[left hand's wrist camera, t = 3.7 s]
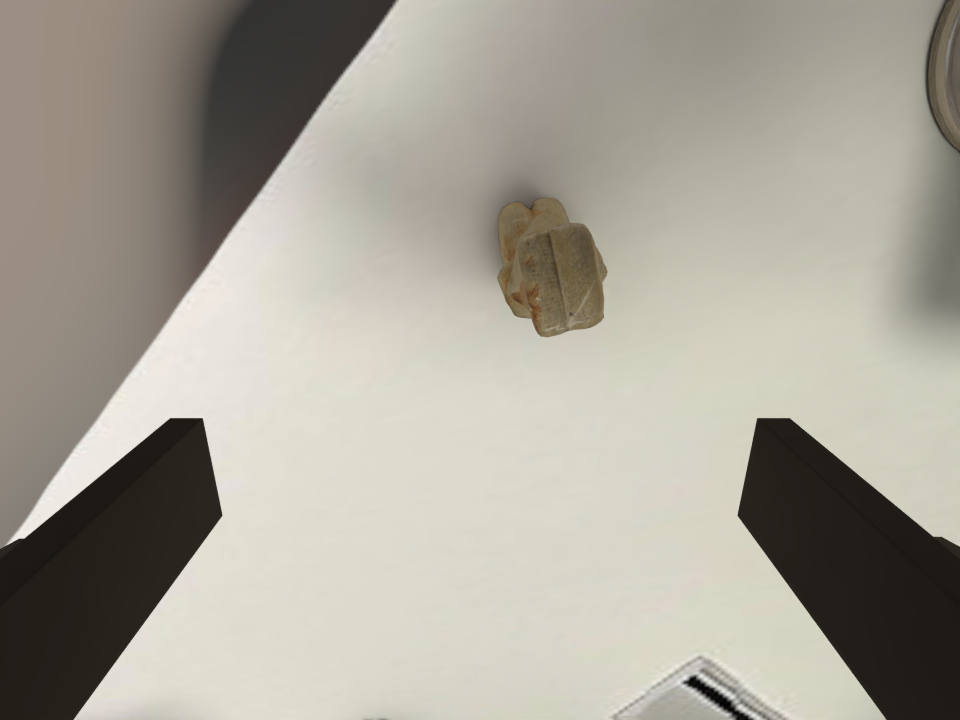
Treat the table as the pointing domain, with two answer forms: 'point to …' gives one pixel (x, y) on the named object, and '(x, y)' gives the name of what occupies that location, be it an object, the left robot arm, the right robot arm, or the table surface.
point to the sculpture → (550, 268)
